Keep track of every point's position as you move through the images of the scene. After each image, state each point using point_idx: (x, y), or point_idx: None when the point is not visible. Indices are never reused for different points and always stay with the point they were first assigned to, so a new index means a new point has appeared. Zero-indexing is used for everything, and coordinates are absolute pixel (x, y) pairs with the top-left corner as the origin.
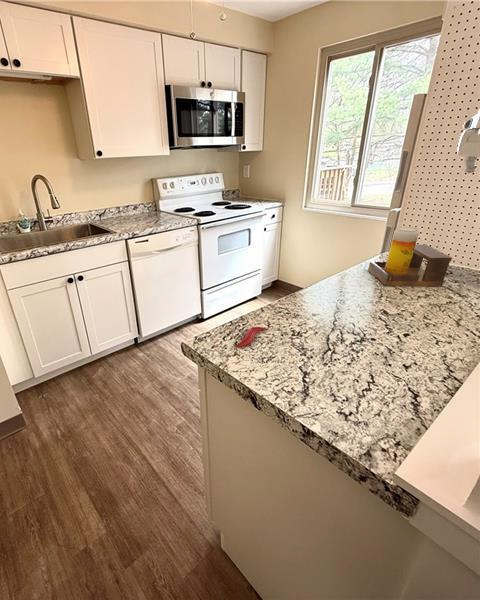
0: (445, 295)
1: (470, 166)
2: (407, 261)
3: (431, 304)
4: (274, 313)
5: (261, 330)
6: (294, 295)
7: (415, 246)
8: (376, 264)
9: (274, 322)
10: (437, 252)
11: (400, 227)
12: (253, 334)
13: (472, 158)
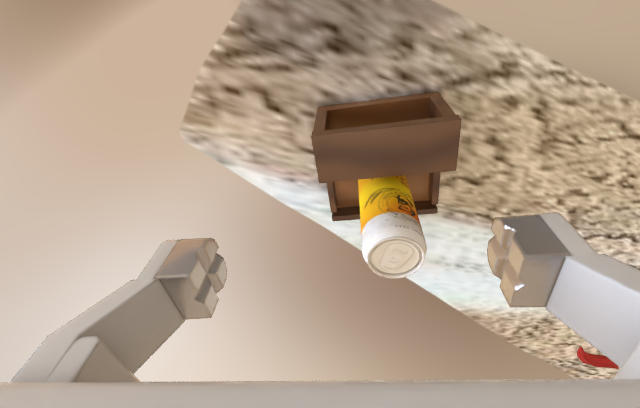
0: (497, 105)
1: (184, 303)
2: (409, 189)
3: (541, 149)
4: (533, 338)
5: (583, 350)
6: (470, 317)
7: (336, 169)
8: (358, 215)
9: (562, 339)
10: (404, 137)
11: (370, 266)
12: (600, 359)
13: (112, 380)
